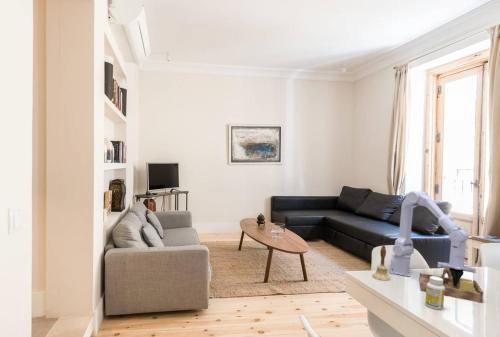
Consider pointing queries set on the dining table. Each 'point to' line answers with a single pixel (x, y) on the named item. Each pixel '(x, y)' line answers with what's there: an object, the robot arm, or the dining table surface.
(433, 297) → the supplement bottle
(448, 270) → the lion figurine
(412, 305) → the dining table surface
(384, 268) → the hand bell
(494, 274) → the dining table surface
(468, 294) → the walnut lane
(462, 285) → the ochre block
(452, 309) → the dining table surface
